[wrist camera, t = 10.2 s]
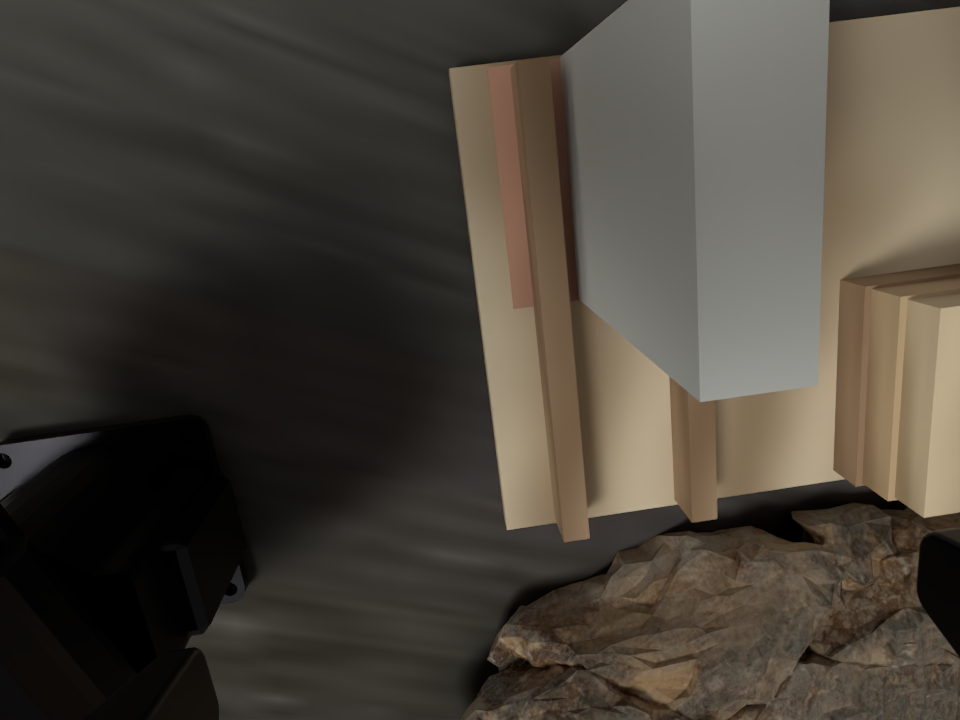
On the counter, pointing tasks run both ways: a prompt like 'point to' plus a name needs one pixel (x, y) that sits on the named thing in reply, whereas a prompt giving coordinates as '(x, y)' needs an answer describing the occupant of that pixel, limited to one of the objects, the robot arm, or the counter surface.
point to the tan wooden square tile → (862, 361)
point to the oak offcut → (889, 378)
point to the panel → (703, 186)
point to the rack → (622, 367)
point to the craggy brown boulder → (737, 630)
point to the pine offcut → (930, 408)
